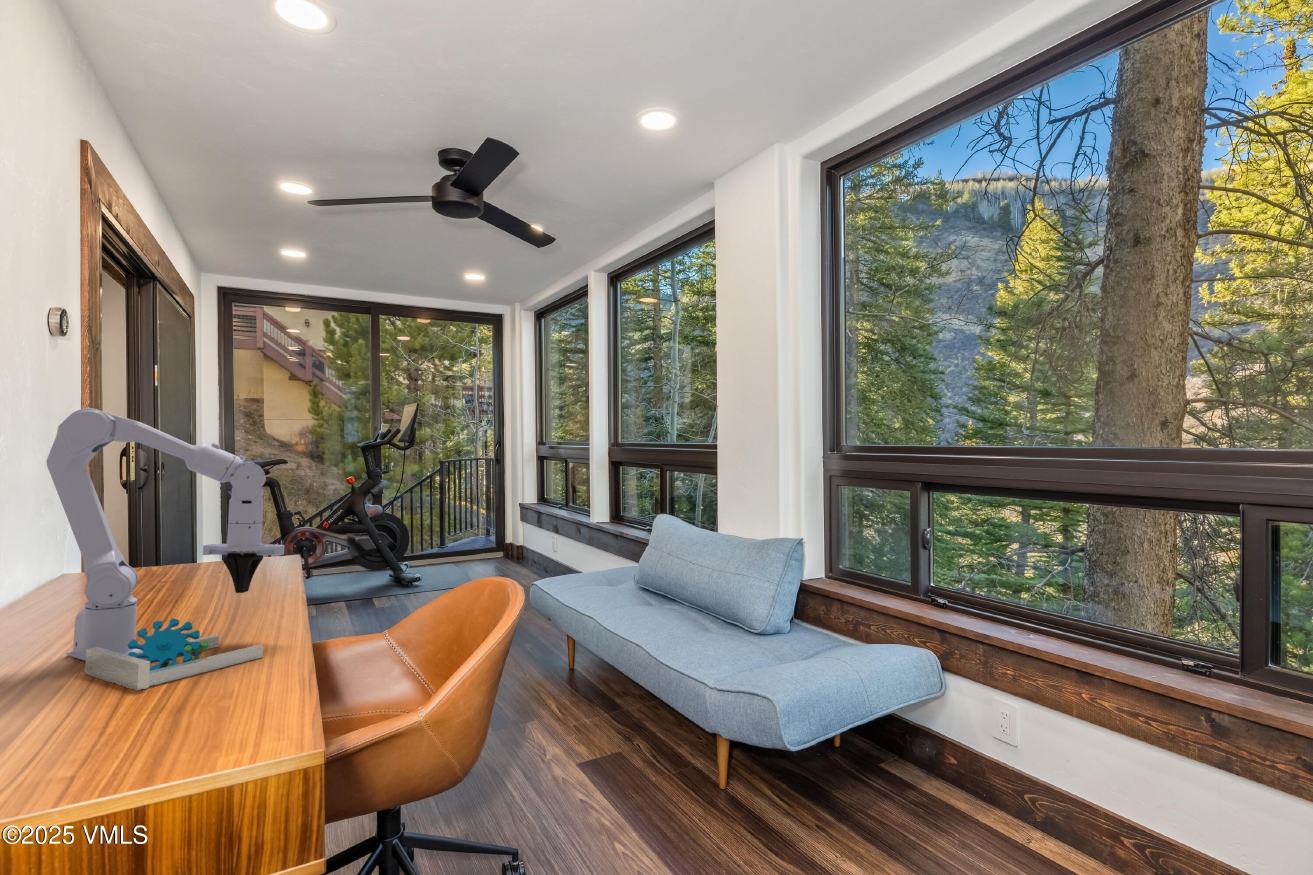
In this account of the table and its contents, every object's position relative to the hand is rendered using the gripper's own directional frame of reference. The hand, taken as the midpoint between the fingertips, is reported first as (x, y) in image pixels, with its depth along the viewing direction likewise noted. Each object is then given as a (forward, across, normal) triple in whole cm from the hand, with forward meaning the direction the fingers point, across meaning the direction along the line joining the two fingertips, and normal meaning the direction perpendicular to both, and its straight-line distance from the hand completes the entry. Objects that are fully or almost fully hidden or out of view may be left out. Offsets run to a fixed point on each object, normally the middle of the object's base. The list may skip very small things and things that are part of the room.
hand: (241, 591), depth 125 cm
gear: (+10, -2, -17) cm, 19 cm away
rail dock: (+9, -1, -16) cm, 18 cm away
